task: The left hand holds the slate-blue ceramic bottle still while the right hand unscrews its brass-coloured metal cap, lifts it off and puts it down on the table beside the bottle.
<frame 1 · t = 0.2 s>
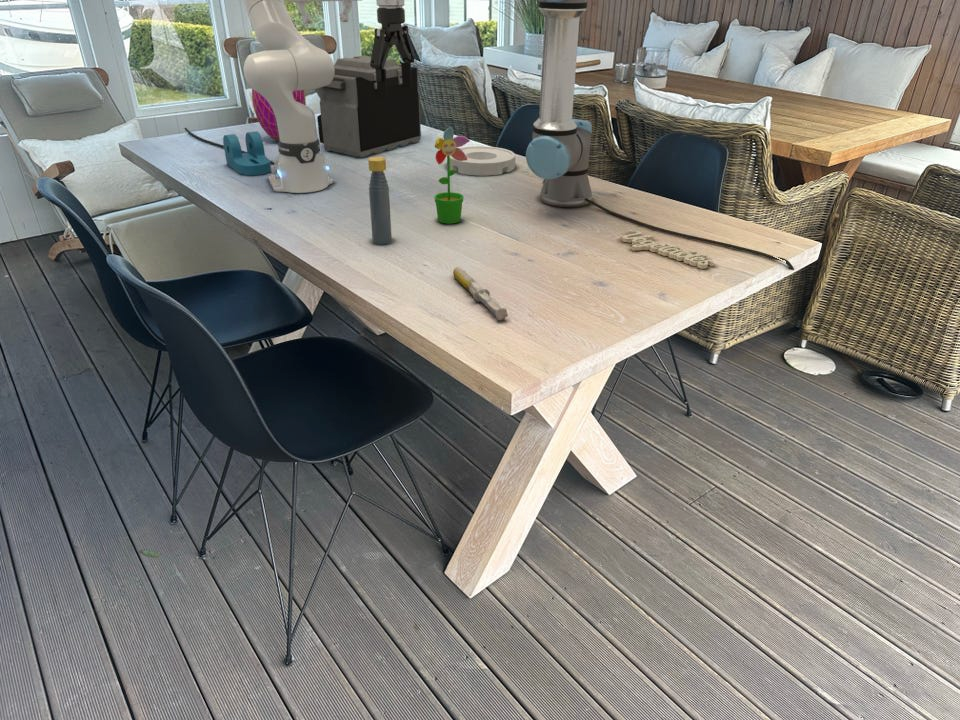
left hand: (326, 22, 166), 48 cm above the table, tool pointing down, fingers open, 8 cm apart
right hand: (395, 90, 196), 29 cm above the table, tool pointing down, fingers open, 13 cm apart
cooler box: (371, 146, 258), on the table
syringe: (478, 297, 145), on the table
potted flower: (450, 220, 187), on the table
decorative egg: (284, 140, 265), on the table
decorative sign: (662, 252, 168), on the table
cap: (376, 160, 162), point 20 cm above the table, screwed on, not yet turned
bottle: (382, 241, 173), on the table
ashtray: (481, 166, 235), on the table
camera mount: (251, 168, 229), on the table
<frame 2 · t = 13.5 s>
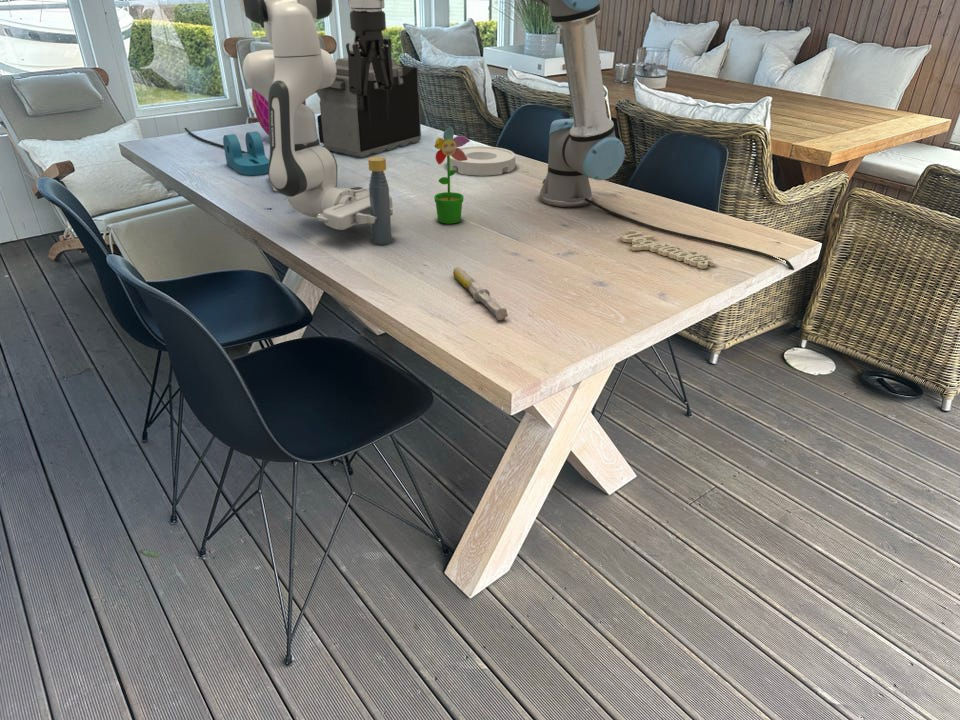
left hand: (383, 216, 169), 7 cm above the table, tool horizontal, fingers closed on bottle, 5 cm apart
right hand: (374, 122, 158), 29 cm above the table, tool pointing down, fingers open, 6 cm apart
bottle: (382, 241, 173), on the table, touching left hand
everything else where it was.
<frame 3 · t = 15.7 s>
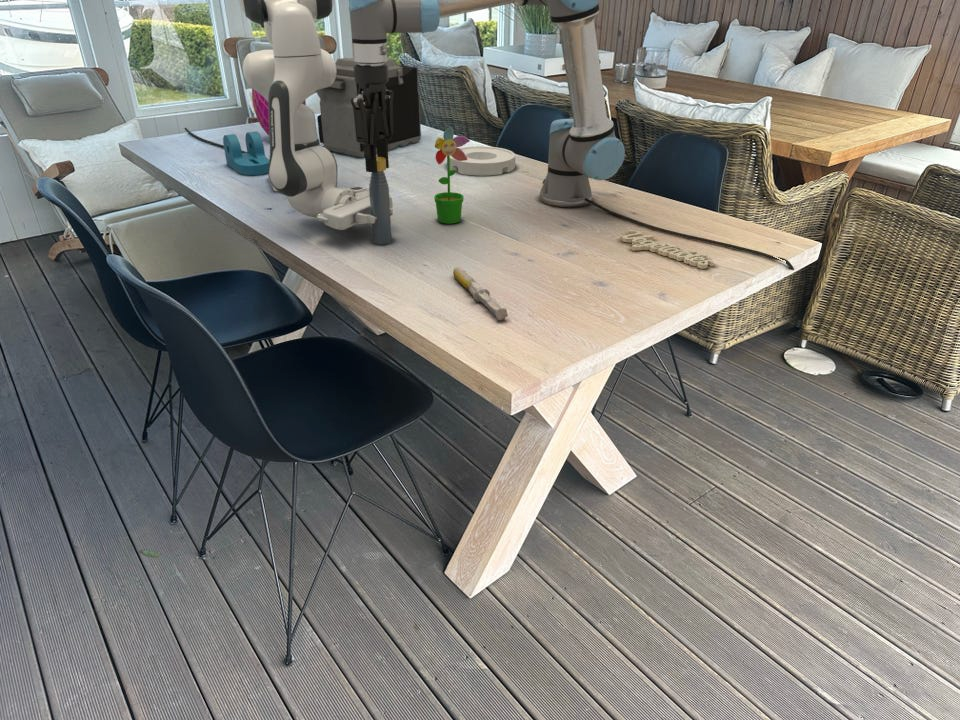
left hand: (383, 216, 169), 7 cm above the table, tool horizontal, fingers closed on bottle, 5 cm apart
right hand: (377, 169, 163), 18 cm above the table, tool pointing down, fingers closed on cap, 4 cm apart
cap: (377, 160, 162), point 20 cm above the table, screwed on, not yet turned, touching right hand
bottle: (382, 241, 173), on the table, touching left hand
everything else where it was.
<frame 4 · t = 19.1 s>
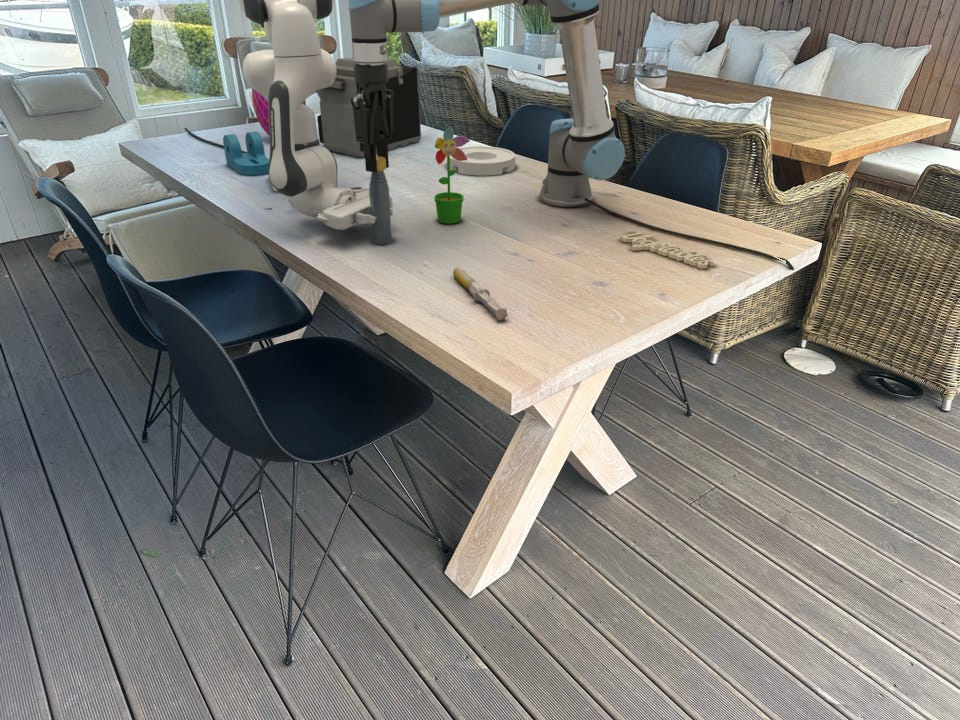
left hand: (383, 216, 169), 7 cm above the table, tool horizontal, fingers closed on bottle, 5 cm apart
right hand: (377, 168, 163), 18 cm above the table, tool pointing down, fingers closed on cap, 4 cm apart
cap: (377, 159, 162), point 20 cm above the table, turned 109° so far, risen 0.1 cm, still on its thread, touching right hand
bottle: (382, 241, 173), on the table, touching left hand
everything else where it was.
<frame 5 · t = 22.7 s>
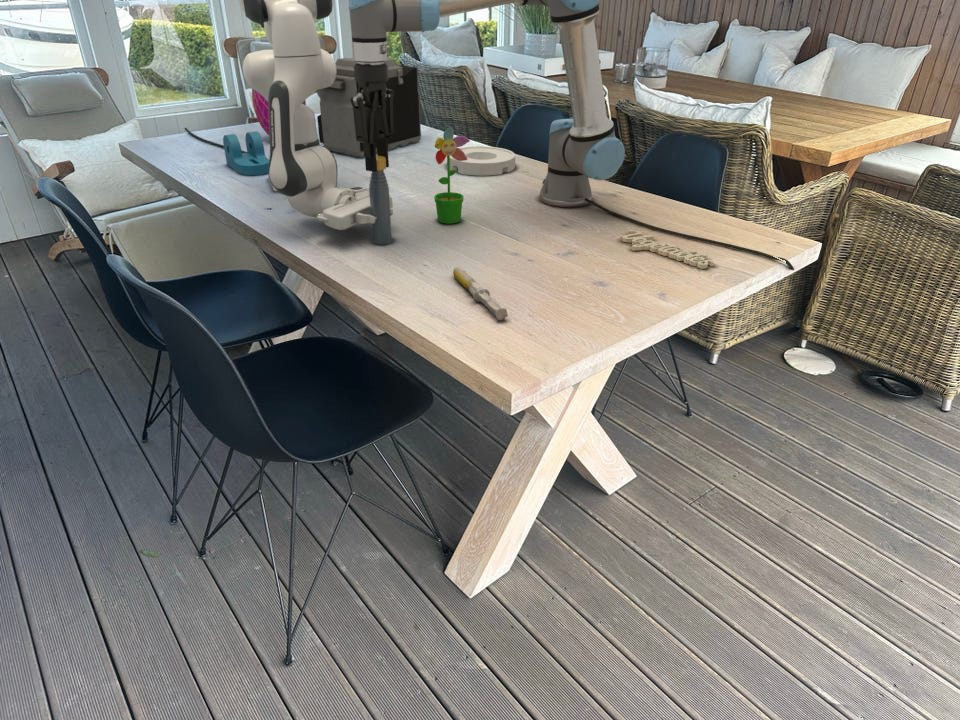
left hand: (383, 216, 169), 7 cm above the table, tool horizontal, fingers closed on bottle, 5 cm apart
right hand: (377, 168, 163), 18 cm above the table, tool pointing down, fingers closed on cap, 4 cm apart
cap: (376, 159, 162), point 21 cm above the table, turned 217° so far, risen 0.2 cm, still on its thread, touching right hand
bottle: (382, 241, 173), on the table, touching left hand
everything else where it was.
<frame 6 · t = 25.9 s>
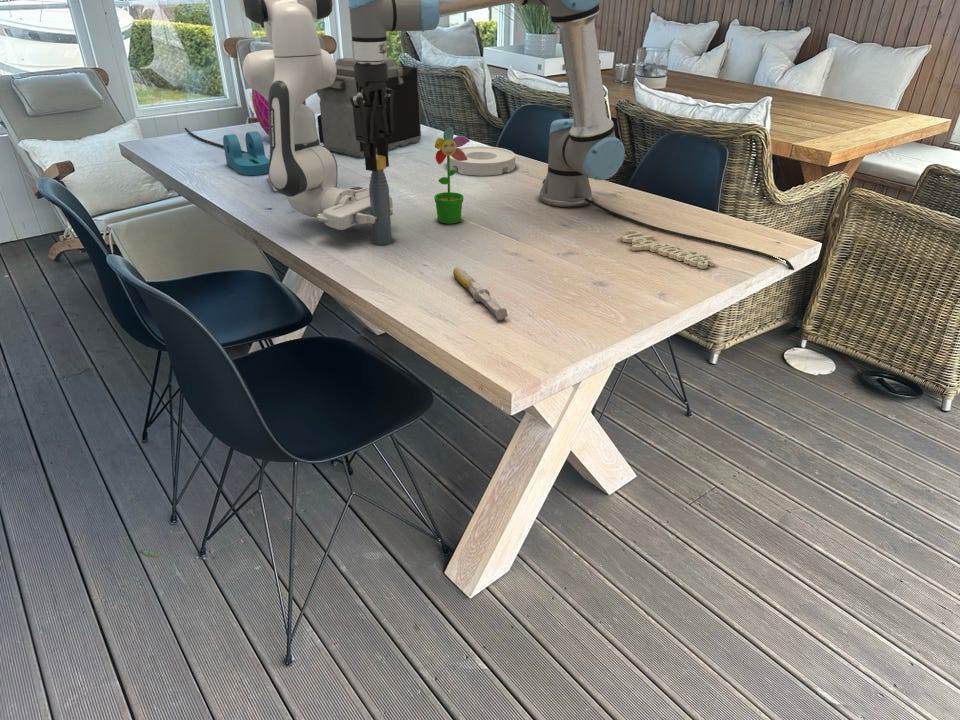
left hand: (383, 216, 169), 7 cm above the table, tool horizontal, fingers closed on bottle, 5 cm apart
right hand: (377, 167, 163), 18 cm above the table, tool pointing down, fingers closed on cap, 4 cm apart
cap: (376, 158, 162), point 21 cm above the table, turned 326° so far, risen 0.4 cm, still on its thread, touching right hand
bottle: (382, 241, 173), on the table, touching left hand
everything else where it was.
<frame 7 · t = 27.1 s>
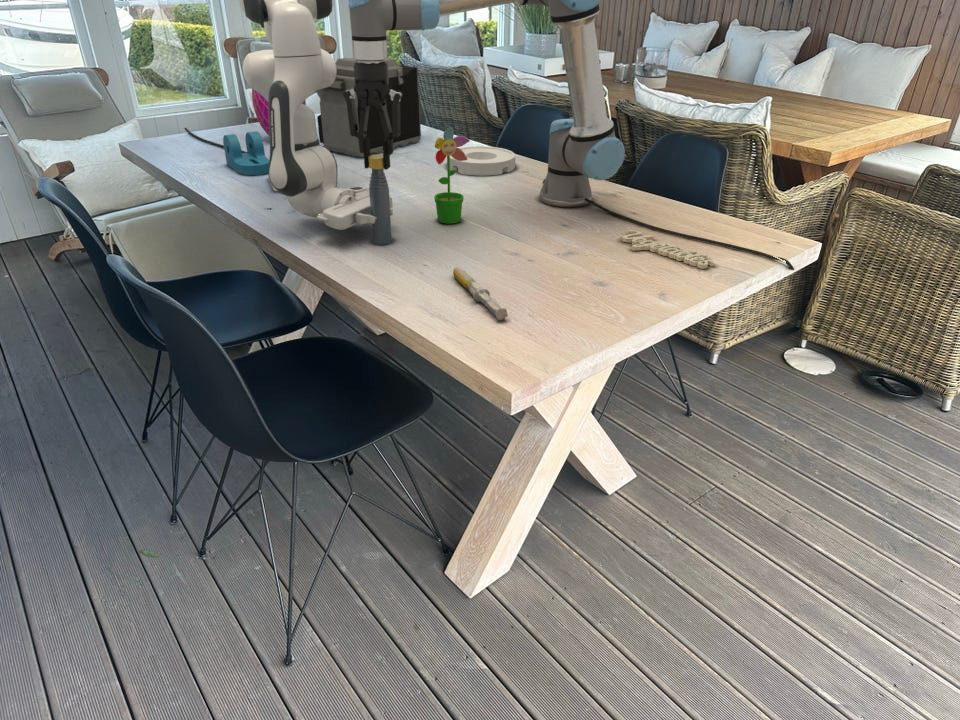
left hand: (383, 216, 169), 7 cm above the table, tool horizontal, fingers closed on bottle, 5 cm apart
right hand: (377, 167, 163), 19 cm above the table, tool pointing down, fingers closed on cap, 4 cm apart
cap: (376, 157, 162), point 21 cm above the table, off its thread, touching right hand
bottle: (382, 241, 173), on the table, touching left hand
everything else where it was.
when the right hand's fingers open (2 cm above the table, at t = 33.2 s): cap drops 2 cm, point 2 cm above the table.
when the left hand's fingers open (7 cm above the table, at t = 34.5 s): bottle stays where it is, on the table.
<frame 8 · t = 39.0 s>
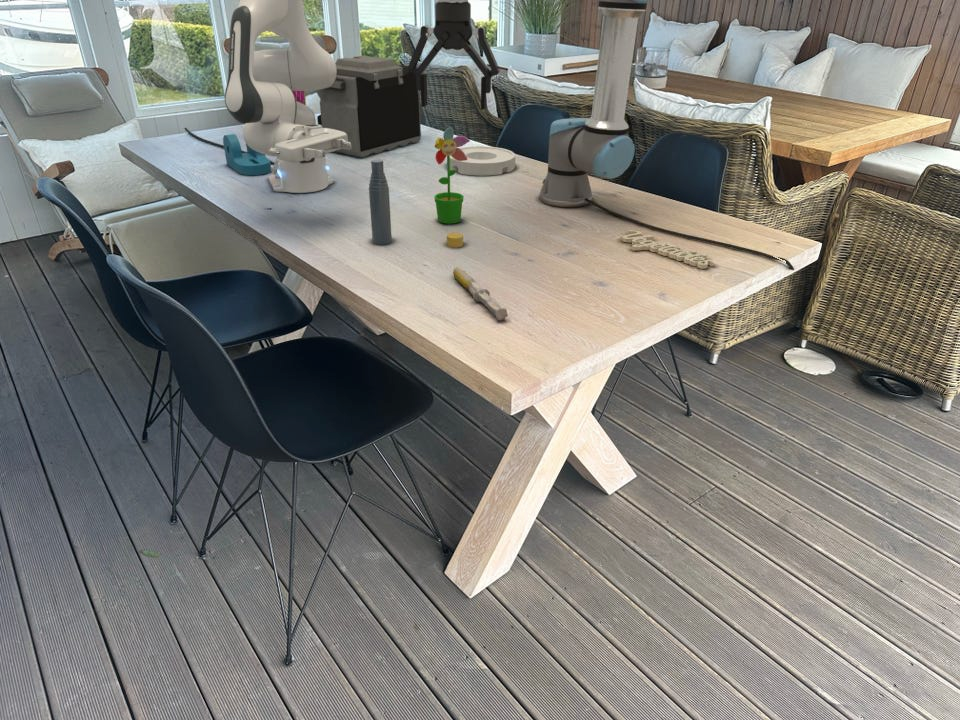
left hand: (336, 150, 168), 21 cm above the table, tool horizontal, fingers open, 8 cm apart
right hand: (453, 107, 155), 33 cm above the table, tool pointing down, fingers open, 13 cm apart
cap: (454, 236, 170), point 2 cm above the table, off its thread
bottle: (382, 241, 173), on the table
everything else where it was.
at the end: cap came off its thread; cap point 2.1 cm above the table; the left hand is holding nothing; the right hand is holding nothing; bottle tilted 0°; bottle moved 0.0 cm from its start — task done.
